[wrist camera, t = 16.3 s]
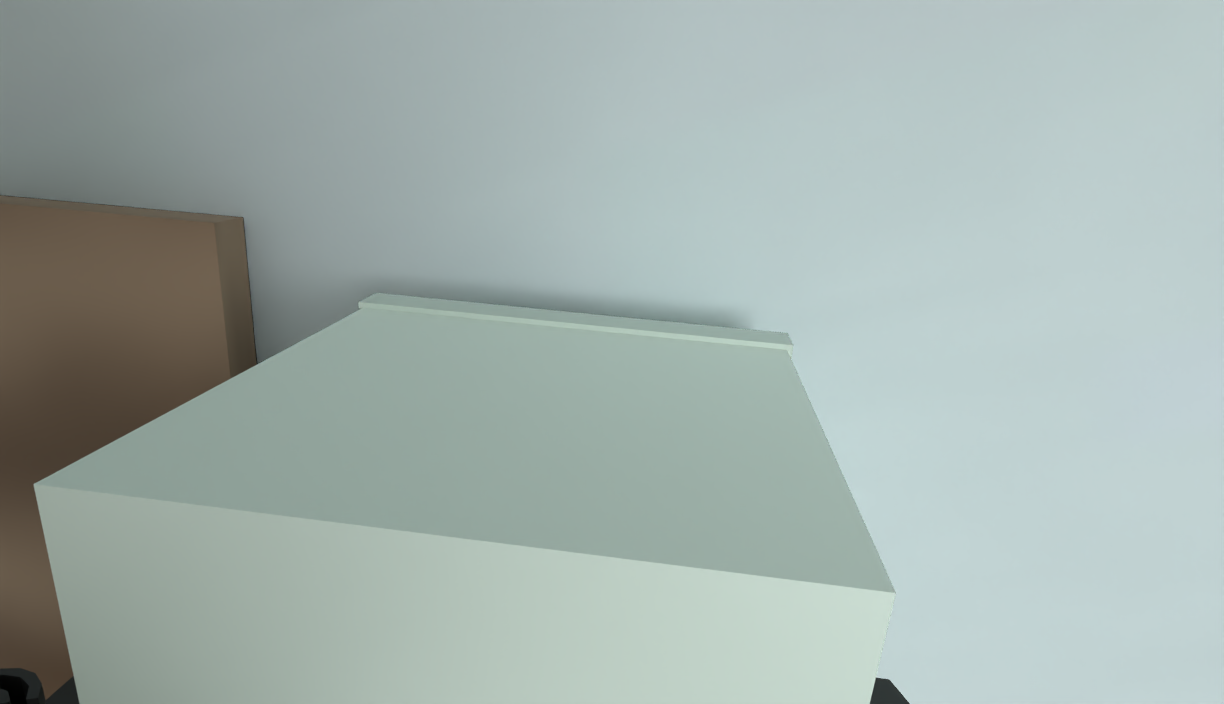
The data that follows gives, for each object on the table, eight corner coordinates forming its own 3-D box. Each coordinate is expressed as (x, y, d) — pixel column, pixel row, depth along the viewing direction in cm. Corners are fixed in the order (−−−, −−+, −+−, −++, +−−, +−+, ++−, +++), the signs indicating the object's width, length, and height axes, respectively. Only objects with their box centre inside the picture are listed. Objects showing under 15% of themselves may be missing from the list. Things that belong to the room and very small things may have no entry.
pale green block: (380, 290, 14) (22, 474, 7) (785, 330, 13) (909, 584, 6) (393, 688, 17) (161, 1122, 10) (722, 736, 17) (750, 1242, 9)
